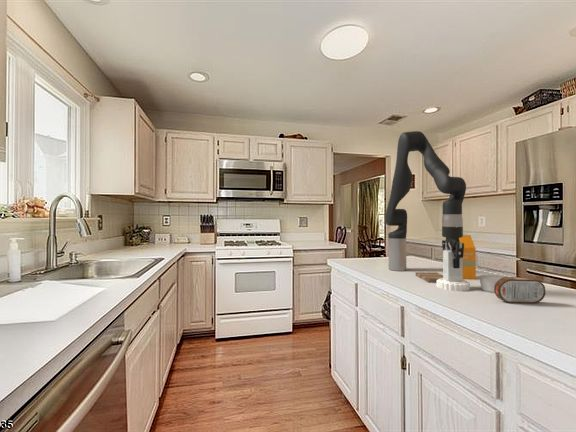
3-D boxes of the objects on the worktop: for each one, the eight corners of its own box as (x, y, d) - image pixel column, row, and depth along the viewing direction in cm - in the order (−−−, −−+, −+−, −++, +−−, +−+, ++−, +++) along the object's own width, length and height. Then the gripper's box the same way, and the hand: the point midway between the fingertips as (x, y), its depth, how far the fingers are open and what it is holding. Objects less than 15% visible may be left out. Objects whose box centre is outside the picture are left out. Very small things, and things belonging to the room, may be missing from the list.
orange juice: (476, 279, 139) (475, 235, 139) (456, 279, 139) (456, 235, 139) (466, 275, 147) (466, 234, 147) (448, 275, 147) (447, 234, 147)
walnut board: (415, 275, 148) (415, 272, 148) (436, 275, 147) (436, 272, 147) (428, 282, 132) (428, 279, 132) (452, 282, 131) (452, 279, 131)
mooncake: (429, 287, 126) (429, 278, 126) (451, 284, 130) (451, 276, 130) (454, 293, 115) (454, 284, 115) (477, 291, 119) (477, 282, 119)
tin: (540, 301, 102) (540, 276, 102) (547, 304, 99) (547, 278, 99) (493, 300, 103) (493, 276, 103) (499, 303, 100) (498, 278, 100)
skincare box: (457, 279, 125) (457, 249, 125) (463, 281, 120) (463, 251, 120) (442, 279, 125) (442, 249, 125) (448, 281, 120) (448, 251, 120)
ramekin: (520, 295, 110) (520, 281, 110) (486, 294, 112) (486, 280, 112) (504, 288, 121) (504, 275, 121) (474, 287, 123) (474, 274, 123)
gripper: (435, 225, 130) (435, 264, 130) (451, 226, 116) (451, 269, 116) (453, 225, 130) (453, 264, 130) (471, 226, 115) (471, 270, 115)
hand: (452, 266), depth 123 cm, fingers open, 5 cm apart
